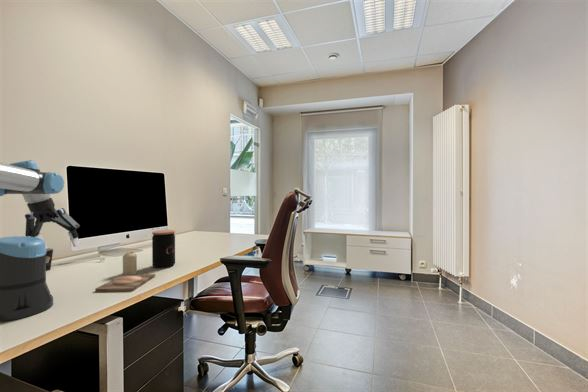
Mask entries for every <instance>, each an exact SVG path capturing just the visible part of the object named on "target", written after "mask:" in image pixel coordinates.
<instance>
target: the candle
mask: <svg viewBox="0 0 588 392" xmlns="http://www.w3.org/2000/svg"><path fill="white" fill-rule="evenodd" d="M137 257H138V256H137V254H136V253H135V251H130V252H127V251H126V253H124V254H123V255H122V275H123V274H138V273H137V272H138V271H137V265H138V264H137V263H138V262H137Z"/></svg>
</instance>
